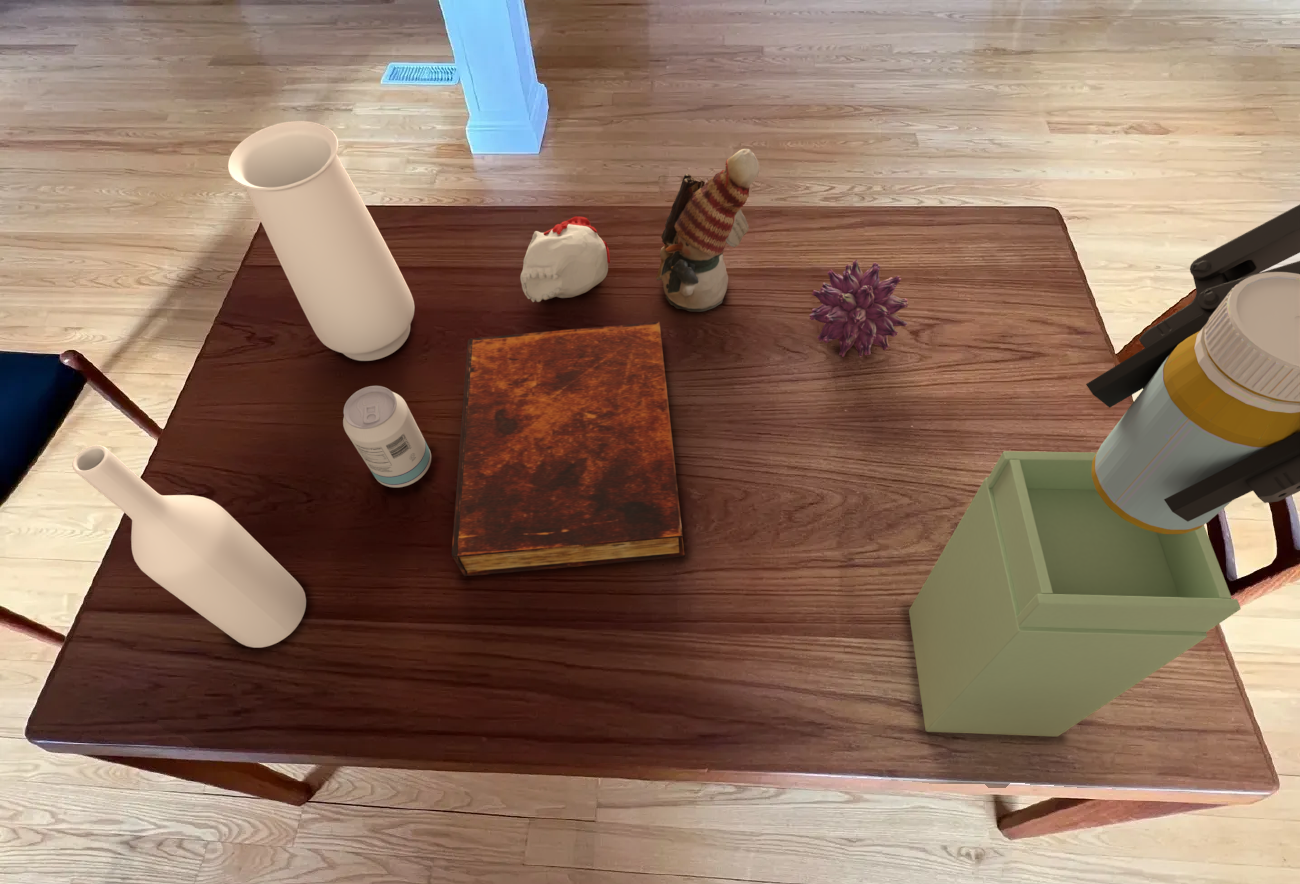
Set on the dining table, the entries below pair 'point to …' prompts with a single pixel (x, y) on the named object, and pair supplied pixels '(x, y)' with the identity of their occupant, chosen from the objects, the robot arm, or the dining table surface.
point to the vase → (325, 239)
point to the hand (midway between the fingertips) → (1135, 450)
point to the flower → (858, 309)
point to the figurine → (705, 234)
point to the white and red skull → (564, 261)
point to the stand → (1054, 603)
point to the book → (565, 452)
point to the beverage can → (386, 436)
